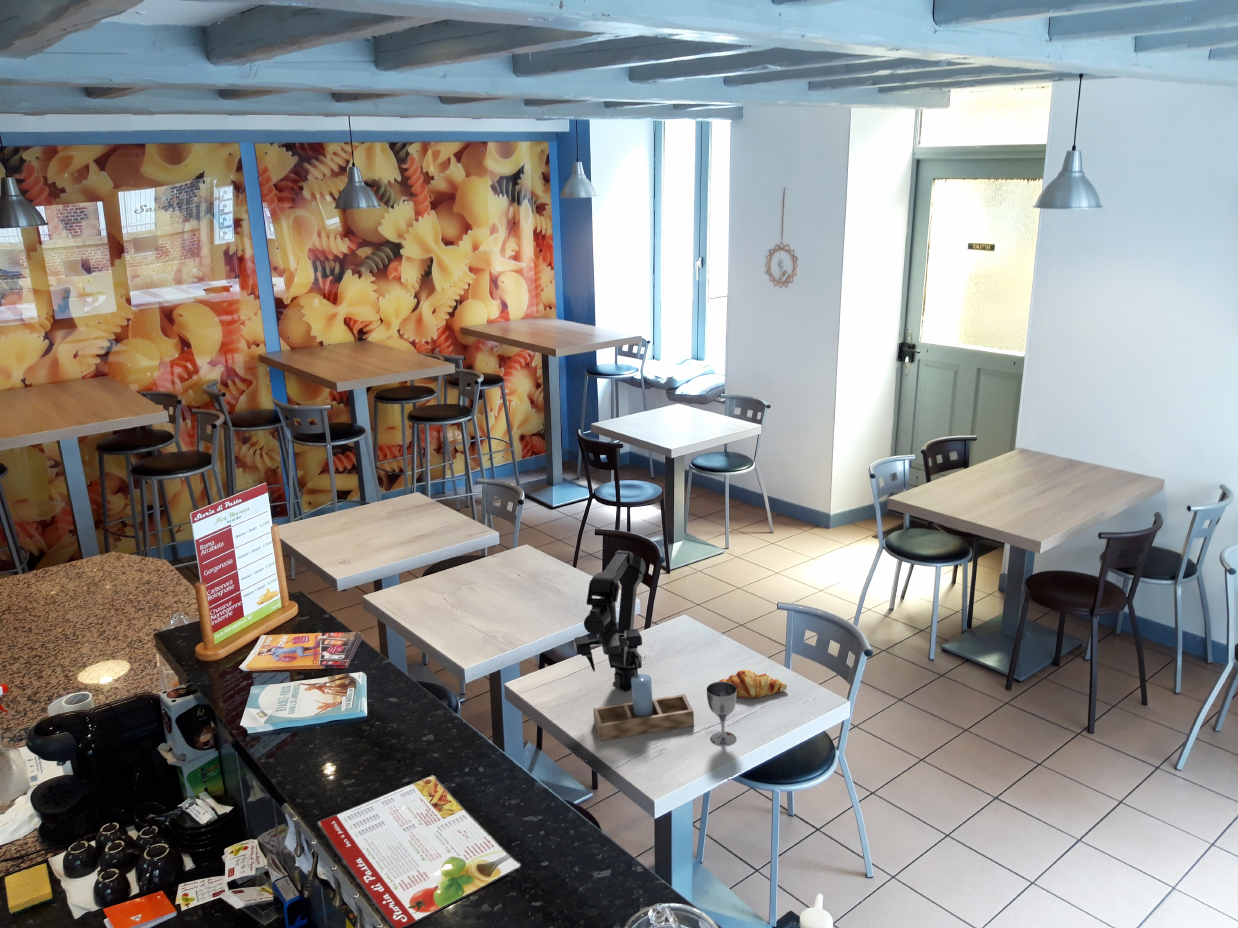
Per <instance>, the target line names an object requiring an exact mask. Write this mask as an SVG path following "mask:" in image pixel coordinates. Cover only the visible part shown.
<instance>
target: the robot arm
mask: <svg viewBox="0 0 1238 928" xmlns="http://www.w3.org/2000/svg"><path fill="white" fill-rule="evenodd" d="M646 568H647V567H646V563H645V560H644V559H643V558H642V557H639V556H638V555H636V554H634V553H633V552H631V551H628V550H627V551H626V550H617V551H615V552H614V554H613V557H612V559H611V560H610V561H609V564H607V566H606V567H605V569H604V570H603V571H600V572H596V574H594V575H593V576H592V578H591V579H590V580H589V584H588V590H587V597H586V598H587V599H586V605H587V606H591V609H590V610H589V613H588V614H587V615H586V617H585V618H584V620H583V627H584V629H585V631H587V632H588V633H590V635H596V637H597V638H596V639H589V637H588V635H584V636H583V635H582V636H576V637H575V638H574V639H573V646H574V650H575V653H576V655H581V657H586V659H587V660H588V662H589V664H590V667H591V669H592V671H593V673H594V672H596V668H595V662H594V658H593V653H592V650H591V648H595V647H601V648H602V651H603V654H604V655H605V656H607V657H608V658H607V659H608V663H609V667H610V669H614V673H613V674H614V681H613V682H612V684H613V685H614V686H615V687H617V688H619V689H621V690H622V691H624V692H628V691H629V690H632V684H631V678H632V677H633V676H635V675H638V674H639V672H638V671H639V670H640V669H642V667H643V665H642V662H643V660H642V655H641V654H640V653H639V651H638V647H641V646H642V645H643V638H642V635H641V633H640V630H638V629H637V628H634V627H635V626H634V624H635V614H636V613H635V612H636V599H637V588H638V587H639V586H640V584H641V583H642V581H643V579H644V575H645V573H646ZM620 586H621V588H620ZM619 593H620V598H619V599H620V600H619V602H620V603H619V612H618V621H617V607H616V605H617V604H616V603H617V602H618V597H619ZM597 597H598V598H597Z"/></svg>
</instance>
